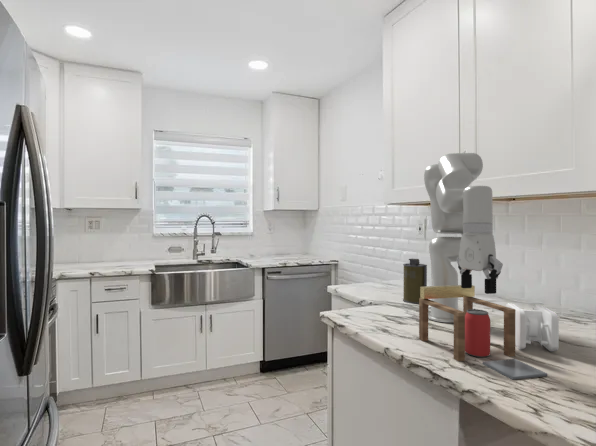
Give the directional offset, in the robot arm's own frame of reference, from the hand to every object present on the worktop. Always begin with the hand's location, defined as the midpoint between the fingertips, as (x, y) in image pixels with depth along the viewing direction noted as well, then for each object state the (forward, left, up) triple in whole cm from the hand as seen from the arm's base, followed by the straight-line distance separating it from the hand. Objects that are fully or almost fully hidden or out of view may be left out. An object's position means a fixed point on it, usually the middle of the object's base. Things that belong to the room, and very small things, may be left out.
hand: (478, 290), depth 105 cm
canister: (-69, +20, -18) cm, 74 cm away
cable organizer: (-3, +21, -18) cm, 28 cm away
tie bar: (-14, 0, -5) cm, 15 cm away
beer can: (0, 0, -18) cm, 18 cm away
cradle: (-6, 0, -18) cm, 19 cm away
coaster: (+11, +1, -18) cm, 21 cm away
